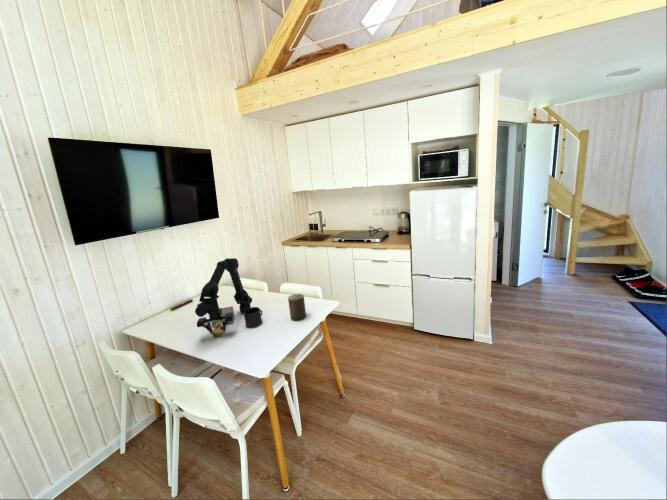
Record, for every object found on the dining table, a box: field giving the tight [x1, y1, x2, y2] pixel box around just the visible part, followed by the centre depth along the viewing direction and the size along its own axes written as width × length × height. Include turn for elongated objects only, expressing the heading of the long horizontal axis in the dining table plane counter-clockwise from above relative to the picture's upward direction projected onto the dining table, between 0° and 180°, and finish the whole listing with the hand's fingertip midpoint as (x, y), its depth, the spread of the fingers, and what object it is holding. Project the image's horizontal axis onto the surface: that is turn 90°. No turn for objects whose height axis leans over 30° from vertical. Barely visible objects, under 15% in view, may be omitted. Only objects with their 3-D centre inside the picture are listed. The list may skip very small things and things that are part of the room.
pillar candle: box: [287, 293, 307, 322], centre depth 167 cm, size 10×10×15 cm
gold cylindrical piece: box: [211, 320, 224, 339], centre depth 158 cm, size 14×6×6 cm, turn 13°
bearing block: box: [210, 306, 236, 329], centre depth 170 cm, size 10×12×8 cm
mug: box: [243, 306, 263, 329], centre depth 165 cm, size 9×12×9 cm
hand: (218, 333), depth 154 cm, fingers open, 6 cm apart
